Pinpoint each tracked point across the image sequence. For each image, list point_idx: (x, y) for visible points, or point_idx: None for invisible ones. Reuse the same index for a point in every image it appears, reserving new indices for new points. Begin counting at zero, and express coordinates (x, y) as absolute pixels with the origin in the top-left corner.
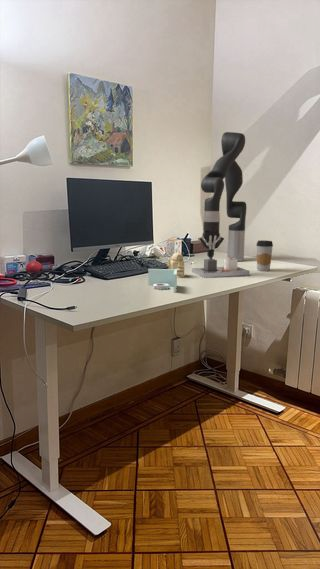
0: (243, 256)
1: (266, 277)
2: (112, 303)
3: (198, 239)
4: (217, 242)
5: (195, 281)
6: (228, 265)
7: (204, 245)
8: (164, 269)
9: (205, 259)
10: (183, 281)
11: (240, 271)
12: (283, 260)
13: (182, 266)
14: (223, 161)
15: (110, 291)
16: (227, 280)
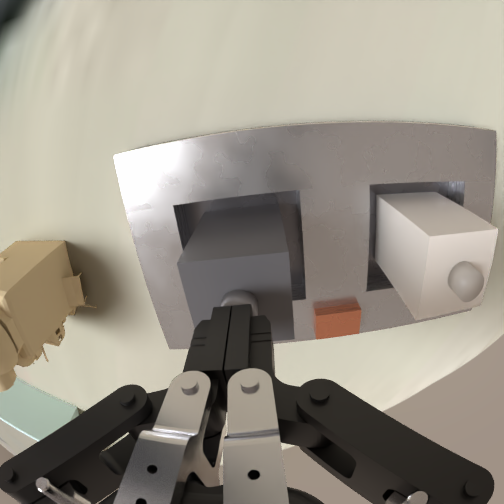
0: None
1: (483, 332)
2: (20, 440)
3: (9, 473)
4: (356, 476)
5: (131, 372)
6: (397, 287)
7: (118, 457)
8: (24, 433)
9: (188, 281)
10: (84, 359)
11: (422, 320)
12: None
13: (41, 352)
14: None
15: None
16: (288, 383)
